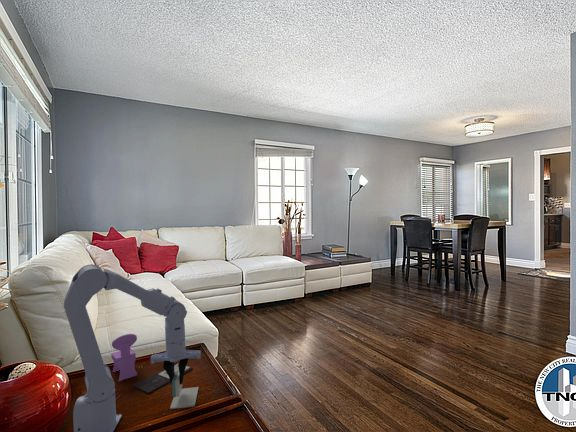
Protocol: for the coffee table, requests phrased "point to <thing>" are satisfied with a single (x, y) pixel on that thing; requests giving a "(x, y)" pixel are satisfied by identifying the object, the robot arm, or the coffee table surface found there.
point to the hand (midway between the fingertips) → (177, 383)
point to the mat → (185, 398)
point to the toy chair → (124, 356)
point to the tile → (176, 385)
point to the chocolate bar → (157, 380)
